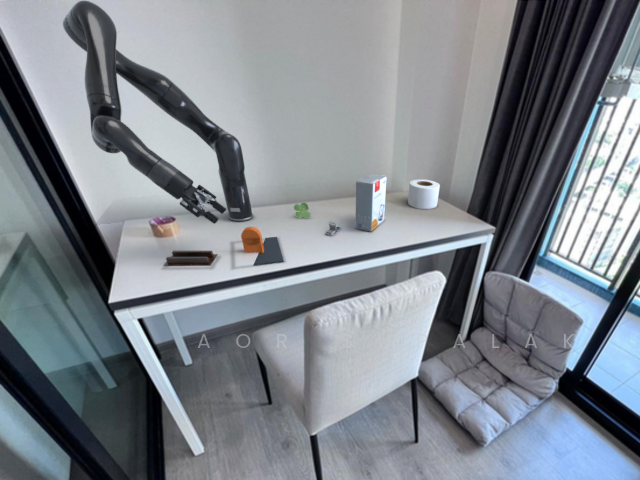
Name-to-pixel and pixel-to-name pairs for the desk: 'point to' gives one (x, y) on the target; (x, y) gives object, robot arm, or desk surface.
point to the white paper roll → (423, 194)
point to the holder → (191, 258)
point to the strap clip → (332, 229)
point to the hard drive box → (370, 201)
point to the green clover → (302, 210)
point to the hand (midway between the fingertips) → (220, 216)
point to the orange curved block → (252, 240)
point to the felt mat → (269, 252)
